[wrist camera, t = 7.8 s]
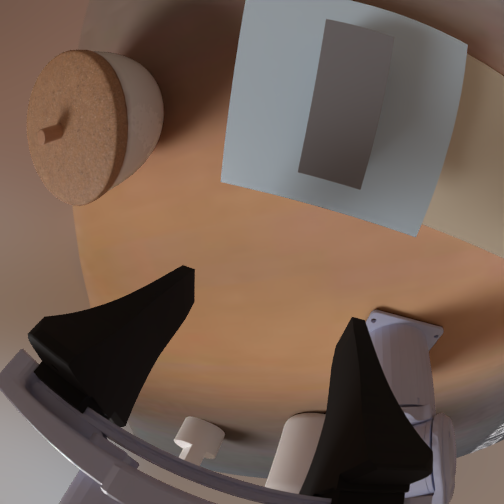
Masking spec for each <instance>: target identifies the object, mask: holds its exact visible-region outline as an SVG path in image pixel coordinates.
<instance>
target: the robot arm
mask: <svg viewBox="0 0 504 504" xmlns="http://www.w3.org/2000/svg"><path fill="white" fill-rule="evenodd" d="M194 281H195V269H192V268H189V267H186V266H181V267H179V268H177V269H175V270H174V271H172V272H170V273H168V274H166V275H165V276H163V277H161V278H159V279H158V280H156V281H154V282H152V283H150V284H149V285H147V286H145V287H143V288H141V289H139V290H137V291H135V292H133V293H131V294H129V295H126V296H124V297H122V298H120V299H117V300H114V301H112V302H109V303H107V304H104V305H100V306H97V307H94V308H91V309H87V310H83V311H79V312H75V313H69V314H64V315H56V316H48V317H44V318H43V319H42V320H41V321H40V322H39V323H38V324H37V325H36V326H35V327H34V328H33V329H32V330H31V331H30V332H29V333H28V339H29V341H30V343H31V345H32V346H33V348H34V349H35V351H36V352H37V354H38V355H39V357H40V358H41V360H42V362H41V363H40V364H38V363H37V362H36V361H35V360H34V359H33V358H32V357H31V356H30V355H29V354H28V353H27V352H26V351H25V350H24V349H21V350H20V351H19V352H18V353H17V354H16V355H15V356H14V358H13V359H12V360H11V361H10V362H9V363H8V364H7V366H6V367H5V368H4V369H3V370H2V372H1V373H0V390H1V391H2V392H3V393H4V395H5V396H6V397H7V398H8V399H9V401H10V402H11V403H12V404H13V405H14V406H15V408H16V409H17V410H18V411H19V412H20V413H21V414H22V416H23V417H24V418H25V419H26V420H27V421H28V422H29V423H30V424H31V425H32V426H33V427H34V428H35V429H36V430H37V432H38V433H40V434H41V436H43V437H44V438H45V439H46V440H47V441H48V442H49V443H50V444H51V445H52V446H53V447H54V448H55V449H56V450H57V451H59V452H60V453H61V454H62V455H63V456H64V457H65V458H67V459H68V460H69V461H70V462H71V463H73V464H74V465H75V466H76V467H78V468H79V469H80V471H79V472H78V474H77V475H76V477H75V479H74V480H73V482H72V483H71V485H70V487H69V488H68V490H67V491H66V493H65V495H64V496H63V498H62V500H61V501H60V503H59V504H216V503H213V502H210V501H207V500H205V499H202V498H199V497H197V496H194V495H192V494H189V493H187V492H184V491H182V490H180V489H177V488H175V487H172V486H170V485H168V484H166V483H164V482H162V481H160V480H157V479H155V478H153V477H151V476H149V475H147V474H145V473H143V472H141V471H139V470H137V468H138V466H139V463H138V462H136V461H135V460H133V459H132V458H131V457H129V456H128V455H127V453H126V452H125V451H123V450H122V449H120V448H119V447H117V446H116V445H114V444H113V443H111V442H109V441H108V440H107V438H109V439H110V440H112V441H114V442H115V443H117V444H119V445H120V446H122V447H124V448H125V449H127V450H129V451H131V452H132V453H134V454H136V455H138V456H140V457H142V458H144V459H145V460H147V461H149V462H151V463H153V464H155V465H157V466H159V467H161V468H163V469H166V470H168V471H170V472H172V473H174V474H177V475H179V476H181V477H184V478H186V479H188V480H191V481H193V482H196V483H198V484H201V485H204V486H206V487H209V488H212V489H215V490H218V491H221V492H224V493H227V494H230V495H233V496H237V497H240V498H244V499H247V500H251V501H255V502H259V503H264V504H449V502H450V501H451V499H452V496H453V493H454V487H455V473H456V443H455V434H454V428H453V424H452V421H451V418H450V417H448V416H446V415H445V414H444V413H439V414H437V415H436V410H435V397H434V387H433V378H432V371H431V364H430V357H429V350H430V349H431V348H432V347H433V345H434V344H435V343H436V342H437V340H438V339H439V338H440V336H441V335H442V334H443V332H444V331H443V328H442V327H440V326H436V325H432V324H429V323H425V322H421V321H417V320H413V319H410V318H406V317H402V316H399V315H395V314H391V313H387V312H384V311H380V310H374V311H372V312H371V313H370V315H369V317H368V319H367V320H366V322H365V320H362V319H358V318H354V317H352V318H351V320H350V322H349V323H348V325H347V327H346V329H345V331H344V333H343V334H342V336H341V338H340V340H339V342H338V343H337V345H336V348H335V353H334V357H333V362H332V367H331V377H330V386H329V395H328V403H327V410H326V416H325V420H324V424H323V428H322V431H321V435H320V438H319V442H318V445H317V448H316V451H315V454H314V457H313V460H312V463H311V465H310V468H309V471H308V473H307V476H306V478H305V481H304V483H303V485H302V487H301V490H300V492H299V494H295V493H290V492H285V491H280V490H276V489H271V488H267V487H263V486H259V485H255V484H252V483H248V482H244V481H241V480H238V479H234V478H231V477H228V476H225V475H222V474H219V473H216V472H214V471H211V470H208V469H205V468H203V467H200V466H198V465H195V464H193V463H190V462H188V461H185V460H183V459H181V458H179V457H176V456H174V455H172V454H170V453H168V452H165V451H163V450H161V449H159V448H157V447H155V446H153V445H151V444H149V443H147V442H145V441H143V440H142V439H140V438H138V437H136V436H134V435H132V434H131V433H129V432H127V431H125V430H124V429H122V428H120V427H124V426H126V423H127V421H128V418H129V416H130V413H131V411H132V408H133V406H134V404H135V402H136V399H137V397H138V395H139V393H140V391H141V389H142V387H143V385H144V383H145V381H146V379H147V377H148V375H149V373H150V371H151V369H152V367H153V365H154V364H155V362H156V360H157V358H158V357H159V355H160V354H161V352H162V351H163V349H164V348H165V347H166V345H167V344H168V343H169V341H170V340H171V338H172V337H173V336H174V334H175V333H176V331H177V330H178V329H179V327H180V326H181V324H182V323H183V322H184V320H185V319H186V317H187V315H188V313H189V311H190V309H191V307H192V305H193V303H194ZM372 319H375V320H372Z"/></svg>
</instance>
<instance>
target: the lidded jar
mask: <svg viewBox="0 0 504 504" xmlns="http://www.w3.org/2000/svg"><path fill="white" fill-rule="evenodd" d="M163 119H164V104H163V99H162V95H161V92H160V89H159V86H158V85H157V83H156V81H155V79H154V77H153V76H152V75H151V73H150V72H149V71H148V70H147V69H146V68H145V67H144V66H142V65H141V64H140V63H138V62H136V61H135V60H133V59H131V58H128V57H126V56H123V55H119V54H116V53H111V52H100V51H89V50H70V51H66V52H63V53H61V54H59V55H58V56H56V57H55V58H54V59H53V60H51V61H50V62H49V63H48V64H47V65H46V67H45V68H44V69H43V70H42V72H41V73H40V75H39V77H38V78H37V81H36V83H35V85H34V87H33V90H32V93H31V96H30V100H29V105H28V112H27V138H28V145H29V150H30V154H31V157H32V160H33V164H34V166H35V168H36V171H37V173H38V175H39V177H40V178H41V180H42V181H43V183H44V184H45V186H46V187H47V189H48V190H49V191H50V192H51V193H52V194H53V195H54V196H55V197H57V198H58V199H59V200H61V201H63V202H65V203H68V204H70V205H77V206H81V205H86V204H89V203H91V202H93V201H95V200H97V199H98V198H100V197H101V196H102V195H104V194H105V193H106V192H107V191H109V190H111V189H113V188H114V187H116V186H117V185H119V184H120V183H122V182H123V181H125V180H126V179H127V178H129V177H130V176H131V175H133V174H134V173H135V172H136V171H137V170H138V169H139V168H140V167H141V166H142V165H143V164H144V163H145V162H146V160H147V159H148V157H149V156H150V155H151V153H152V152H153V150H154V148H155V146H156V144H157V142H158V139H159V137H160V134H161V131H162V126H163Z"/></svg>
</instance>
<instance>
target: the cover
mask: <svg viewBox="0 0 504 504" xmlns="http://www.w3.org/2000/svg"><path fill="white" fill-rule="evenodd" d="M467 47H468V45H467V44H465V43H464V42H462V41H460V40H458V39H456V38H454V37H452V36H450V35H448V34H446V33H444V32H442V31H439V30H437V29H435V28H433V27H430V26H428V25H426V24H423V23H421V22H418V21H416V20H413V19H411V18H408V17H405V16H402V15H400V14H397V13H394V12H391V11H388V10H384V9H381V8H378V7H374V6H371V5H367V4H363V3H359V2H355V1H351V0H246V1H245V7H244V13H243V18H242V24H241V30H240V36H239V42H238V49H237V55H236V62H235V68H234V75H233V82H232V90H231V97H230V105H229V112H228V120H227V129H226V137H225V146H224V155H223V164H222V173H221V182H223V183H228V184H232V185H236V186H241V187H245V188H249V189H253V190H258V191H262V192H266V193H270V194H274V195H278V196H281V197H285V198H289V199H293V200H297V201H300V202H304V203H308V204H311V205H315V206H318V207H322V208H325V209H329V210H332V211H336V212H339V213H343V214H346V215H349V216H353V217H356V218H359V219H362V220H365V221H369V222H372V223H375V224H378V225H381V226H384V227H387V228H390V229H393V230H396V231H399V232H402V233H405V234H408V235H411V236H414V237H416V236H417V234H418V231H419V229H420V227H421V224H422V222H423V219H424V217H425V214H426V212H427V209H428V207H429V204H430V202H431V199H432V196H433V193H434V191H435V188H436V185H437V182H438V179H439V176H440V173H441V170H442V167H443V164H444V161H445V157H446V154H447V151H448V147H449V143H450V140H451V136H452V132H453V128H454V124H455V120H456V116H457V111H458V106H459V102H460V96H461V91H462V85H463V79H464V73H465V65H466V57H467Z"/></svg>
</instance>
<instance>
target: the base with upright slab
mask: <svg viewBox="0 0 504 504" xmlns="http://www.w3.org/2000/svg"><path fill="white" fill-rule="evenodd" d="M224 436H225V433H224V431H223V430H221V429H220V428H219V427H217V426H216V425H214V424H212V423H210V422H207V421H205V420H202V419H199V418H196V417H186V418H185V420H184V422H183V424H182V426H181V428H180V430H179V432H178V433H177V435H176V437H175V439H174V442H175V443H176V444H177V445H178V446H180V447H181V448H183V450H182V452H181V454H180V456H179V458H181V459H183V460H185V461H188V462H190V463H193V464H195V465H198V466H200V464H201V462H202V460H203V457H204V458H209V459H214V458H215V457H216V455H217V452H218V450H219V448H220V445H221V443H222V441H223V439H224Z"/></svg>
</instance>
